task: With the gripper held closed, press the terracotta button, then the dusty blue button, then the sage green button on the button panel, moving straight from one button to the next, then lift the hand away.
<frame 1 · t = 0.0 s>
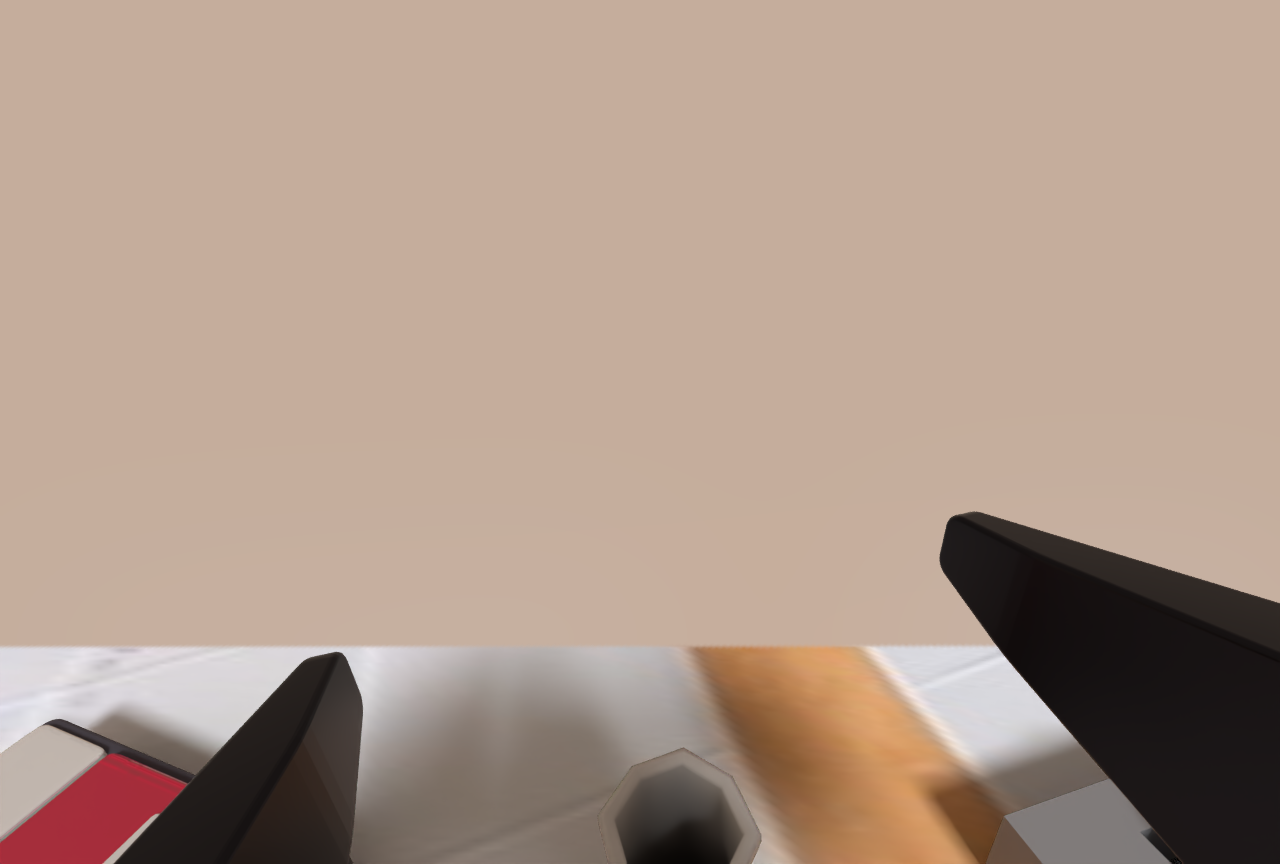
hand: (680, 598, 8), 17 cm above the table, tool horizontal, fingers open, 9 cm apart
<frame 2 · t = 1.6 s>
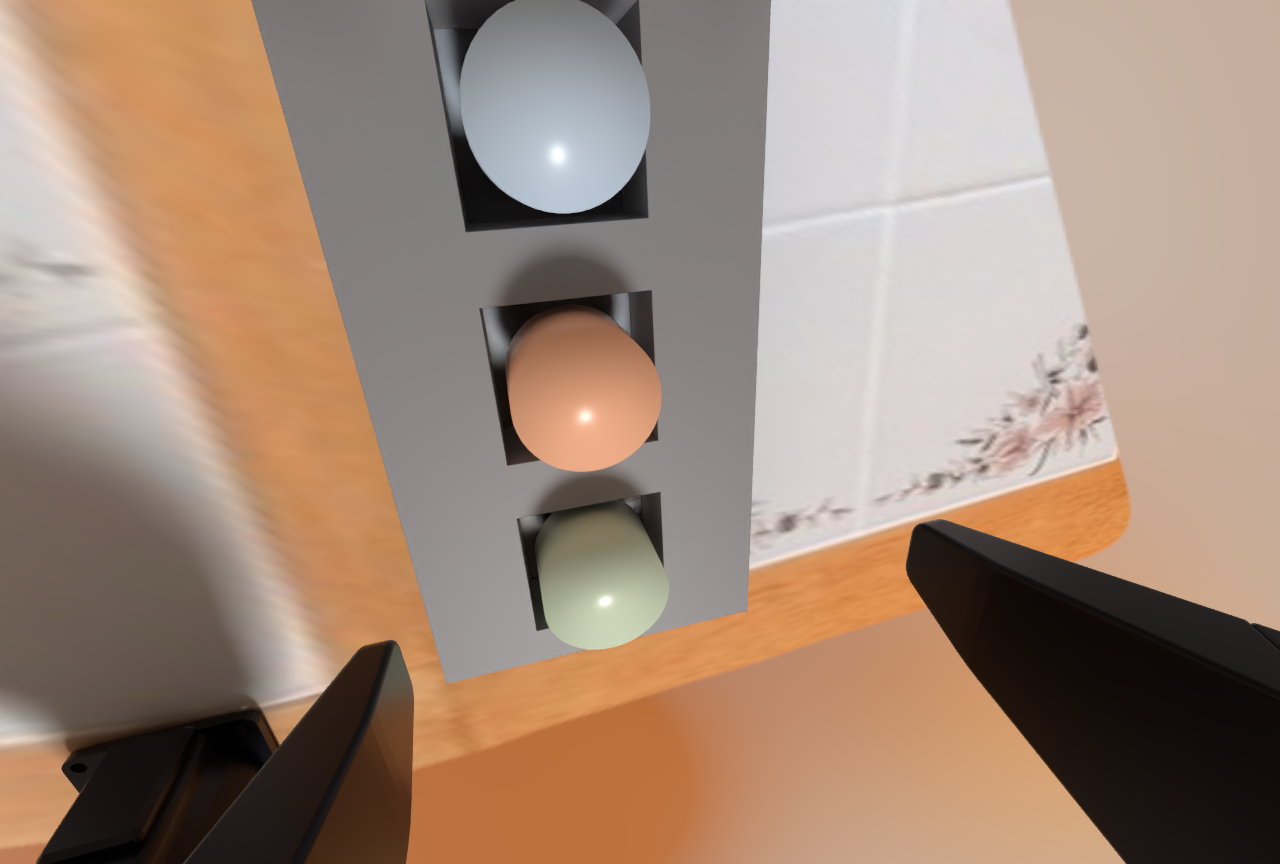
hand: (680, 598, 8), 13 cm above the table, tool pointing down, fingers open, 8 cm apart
button panel: (563, 353, 20), on the table
button terracotta: (579, 384, 17), point 3 cm above the table, slide at 0.0 cm
button sage: (599, 570, 20), point 3 cm above the table, slide at 0.0 cm
button blue: (550, 118, 14), point 3 cm above the table, slide at 0.0 cm
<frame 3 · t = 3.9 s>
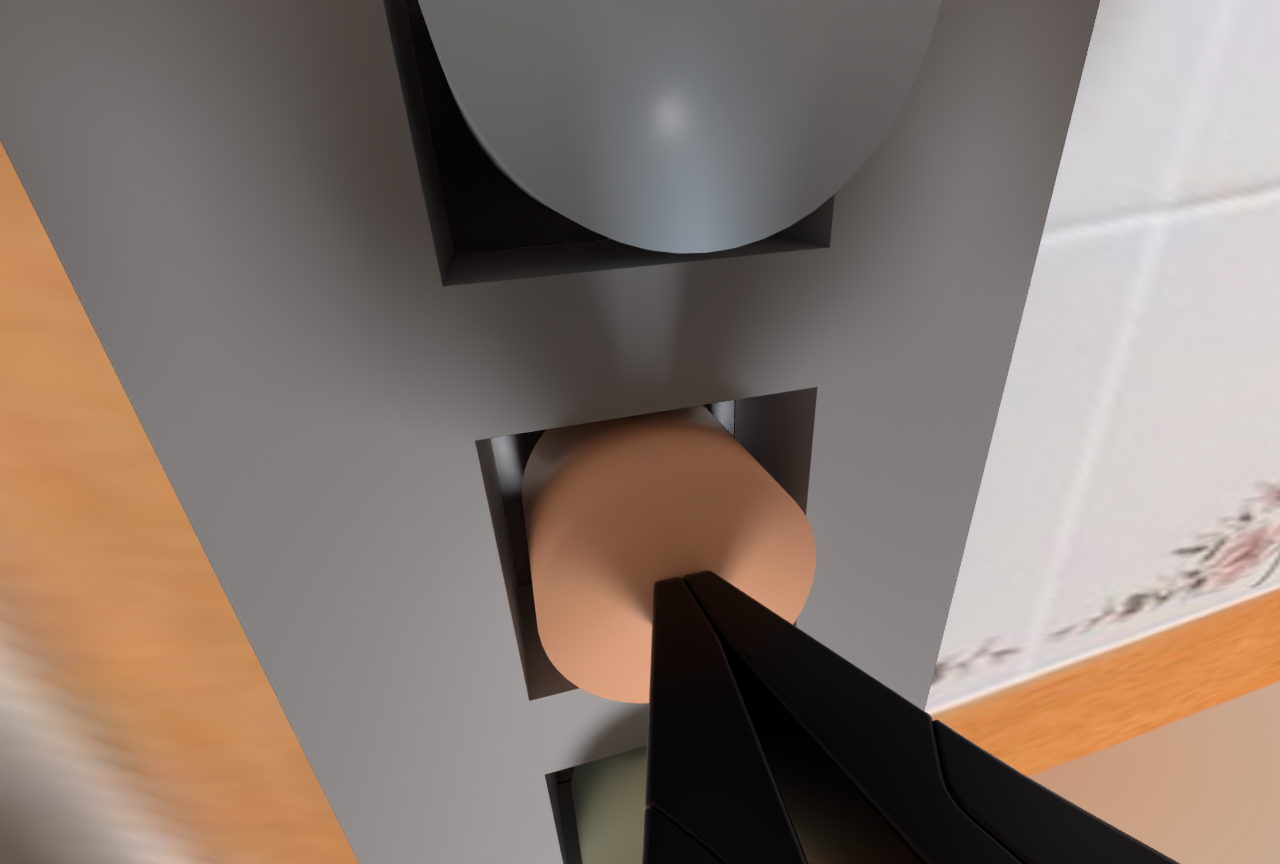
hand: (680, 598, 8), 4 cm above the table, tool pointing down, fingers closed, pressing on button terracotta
button panel: (622, 467, 12), on the table
button terracotta: (654, 533, 9), point 2 cm above the table, slide at 1.0 cm, touching gripper
button sage: (681, 834, 12), point 3 cm above the table, slide at 0.0 cm
button blue: (649, 11, 5), point 3 cm above the table, slide at 0.0 cm
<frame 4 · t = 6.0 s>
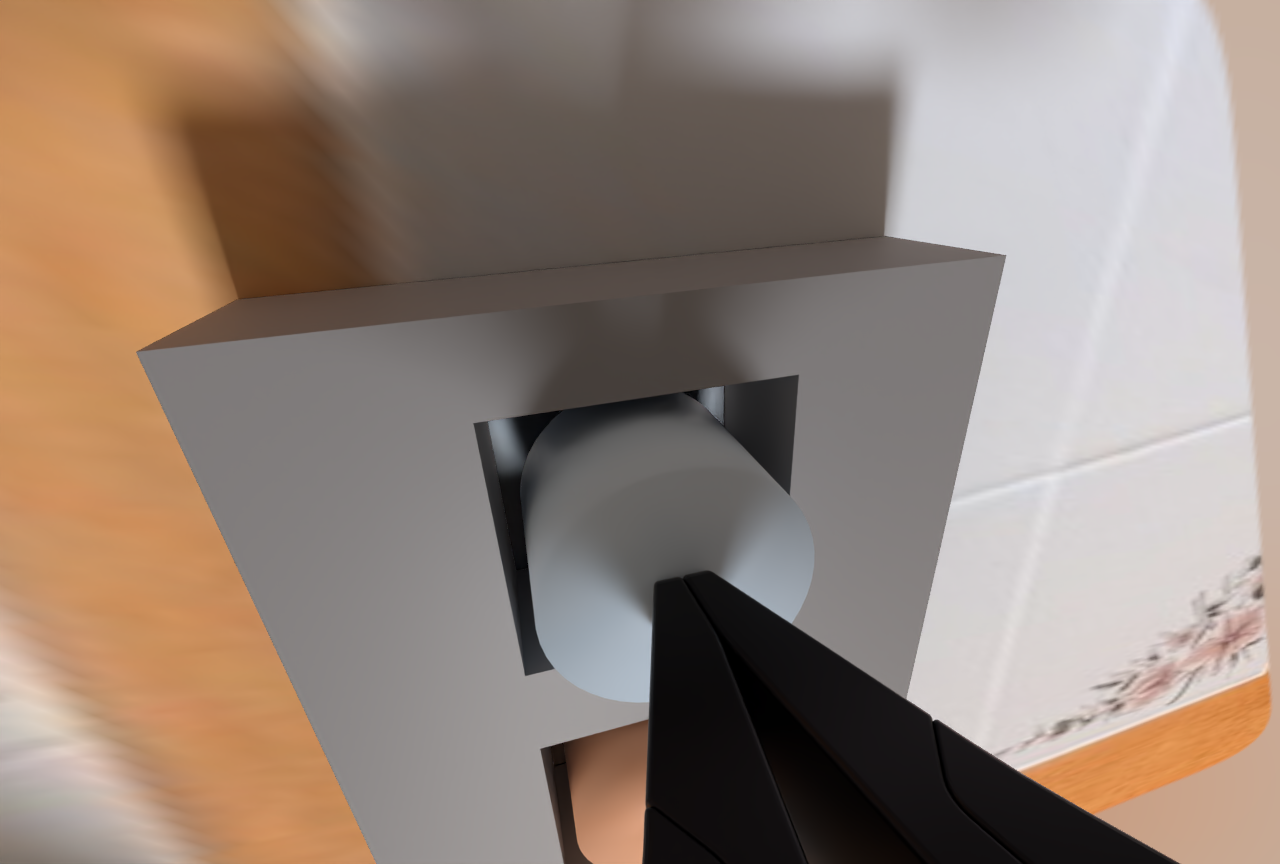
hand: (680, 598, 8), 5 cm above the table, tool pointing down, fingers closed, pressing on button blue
button panel: (634, 682, 15), on the table
button terracotta: (653, 744, 13), point 2 cm above the table, slide at 1.5 cm
button blue: (652, 532, 9), point 3 cm above the table, slide at 0.5 cm, touching gripper
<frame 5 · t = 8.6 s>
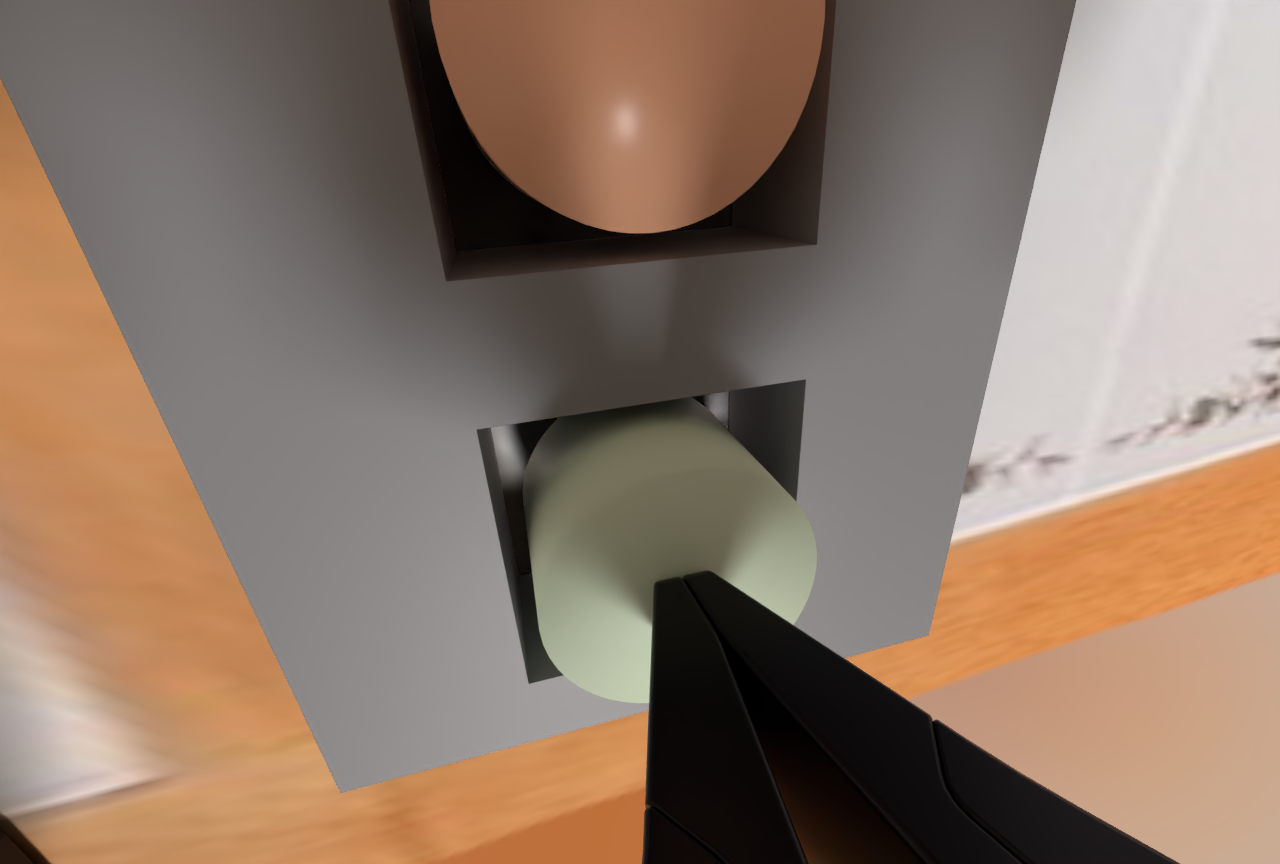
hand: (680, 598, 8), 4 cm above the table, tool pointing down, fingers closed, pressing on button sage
button panel: (587, 72, 9), on the table
button terracotta: (611, 49, 7), point 2 cm above the table, slide at 1.5 cm
button sage: (654, 533, 9), point 3 cm above the table, slide at 0.6 cm, touching gripper
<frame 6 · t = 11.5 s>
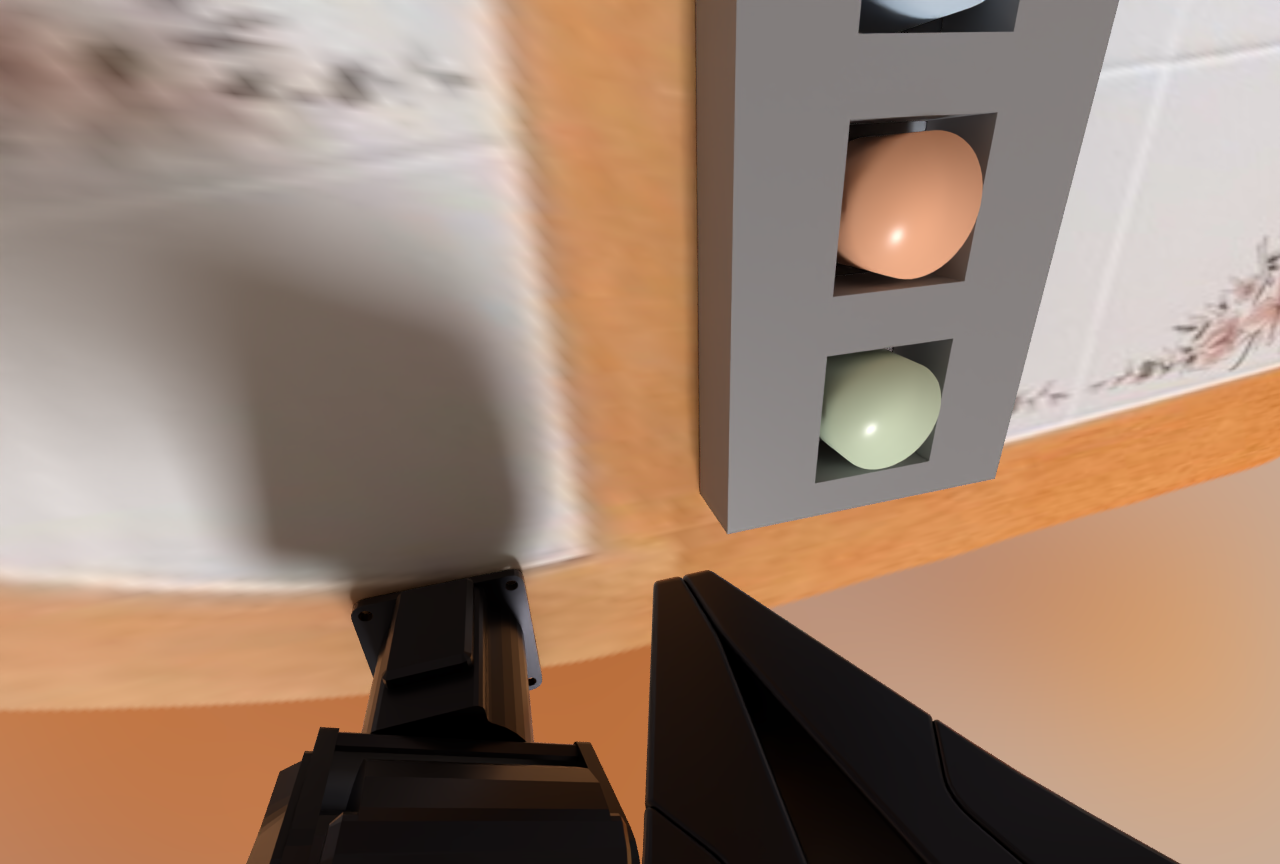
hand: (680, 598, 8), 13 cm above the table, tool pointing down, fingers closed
button panel: (855, 203, 20), on the table
button terracotta: (888, 205, 18), point 2 cm above the table, slide at 1.5 cm
button sage: (863, 401, 21), point 2 cm above the table, slide at 1.6 cm
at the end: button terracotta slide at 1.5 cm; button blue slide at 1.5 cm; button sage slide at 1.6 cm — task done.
